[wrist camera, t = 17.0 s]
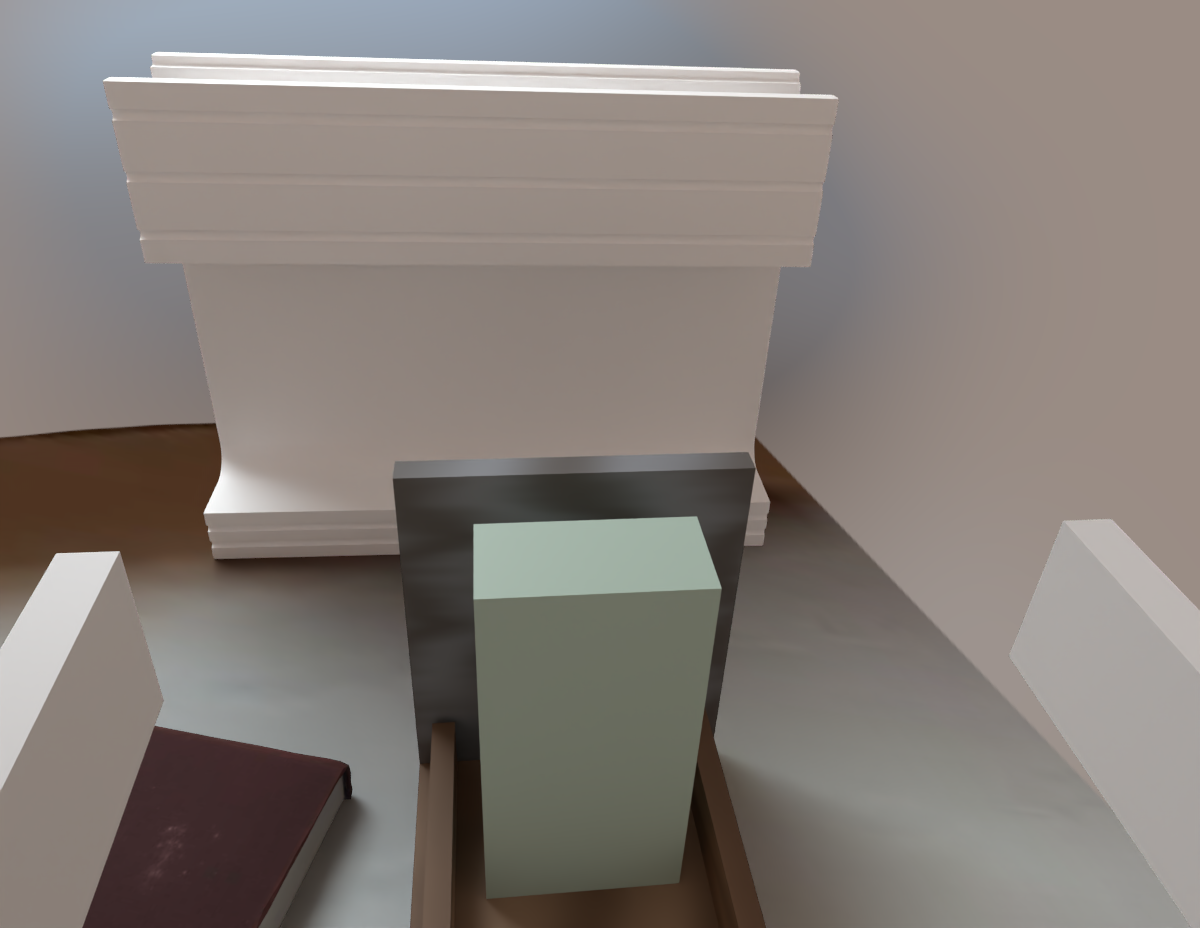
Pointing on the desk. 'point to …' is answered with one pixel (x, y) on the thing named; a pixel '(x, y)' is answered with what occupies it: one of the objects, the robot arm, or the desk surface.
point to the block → (465, 266)
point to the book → (216, 834)
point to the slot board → (449, 678)
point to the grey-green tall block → (590, 698)
